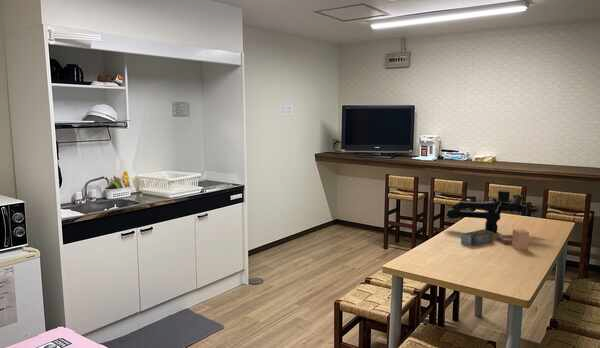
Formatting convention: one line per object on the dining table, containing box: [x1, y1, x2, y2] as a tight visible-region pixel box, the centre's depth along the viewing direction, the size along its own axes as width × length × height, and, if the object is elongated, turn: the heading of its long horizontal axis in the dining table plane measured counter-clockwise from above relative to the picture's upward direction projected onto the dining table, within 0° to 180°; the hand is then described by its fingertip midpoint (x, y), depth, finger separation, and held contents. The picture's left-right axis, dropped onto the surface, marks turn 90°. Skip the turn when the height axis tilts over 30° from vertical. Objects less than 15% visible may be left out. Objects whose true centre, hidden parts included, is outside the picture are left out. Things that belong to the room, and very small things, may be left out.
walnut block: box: [495, 234, 513, 245], centre depth 263 cm, size 10×10×3 cm
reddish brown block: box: [511, 228, 530, 251], centre depth 251 cm, size 6×6×10 cm
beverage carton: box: [460, 228, 494, 247], centre depth 262 cm, size 8×19×7 cm, turn 118°
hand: (536, 208), depth 276 cm, fingers open, 9 cm apart
